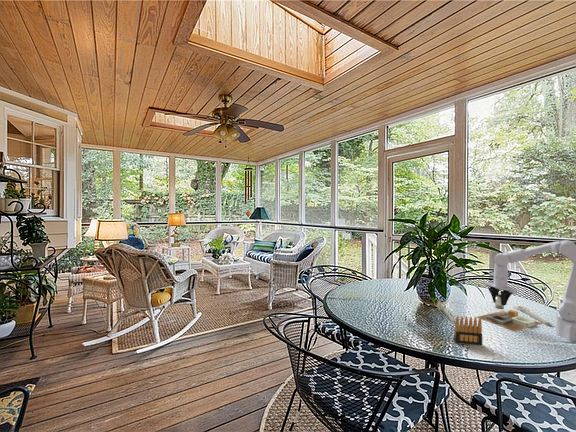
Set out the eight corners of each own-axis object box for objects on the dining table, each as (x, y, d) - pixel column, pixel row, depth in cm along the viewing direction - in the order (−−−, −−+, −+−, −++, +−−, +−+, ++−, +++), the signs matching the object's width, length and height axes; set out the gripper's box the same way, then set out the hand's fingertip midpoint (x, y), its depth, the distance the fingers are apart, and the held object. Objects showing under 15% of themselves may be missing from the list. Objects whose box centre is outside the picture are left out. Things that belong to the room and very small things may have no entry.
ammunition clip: (480, 343, 126) (481, 316, 125) (482, 345, 124) (483, 318, 123) (453, 340, 128) (454, 314, 127) (455, 342, 126) (455, 316, 126)
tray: (535, 325, 142) (535, 321, 142) (526, 327, 139) (526, 323, 139) (519, 319, 148) (519, 315, 148) (510, 321, 146) (511, 318, 146)
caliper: (437, 309, 166) (437, 298, 166) (439, 309, 166) (439, 298, 166) (453, 324, 146) (454, 312, 146) (456, 324, 146) (456, 312, 146)
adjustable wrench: (553, 327, 143) (553, 324, 143) (538, 326, 144) (538, 323, 144) (523, 309, 167) (523, 306, 167) (511, 308, 168) (511, 305, 168)
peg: (505, 309, 145) (506, 296, 144) (497, 309, 145) (498, 295, 145) (501, 306, 148) (501, 293, 148) (493, 306, 149) (494, 293, 148)
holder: (542, 325, 144) (543, 320, 144) (514, 333, 135) (514, 328, 135) (503, 312, 161) (503, 307, 161) (475, 318, 152) (475, 314, 152)
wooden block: (517, 317, 151) (518, 311, 150) (505, 320, 146) (505, 314, 146) (511, 315, 153) (511, 309, 153) (499, 318, 149) (499, 312, 149)
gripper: (521, 280, 140) (520, 307, 141) (491, 273, 154) (490, 298, 155) (511, 281, 138) (510, 309, 139) (482, 274, 152) (481, 299, 152)
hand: (499, 303), depth 146 cm, fingers closed on peg, 4 cm apart
